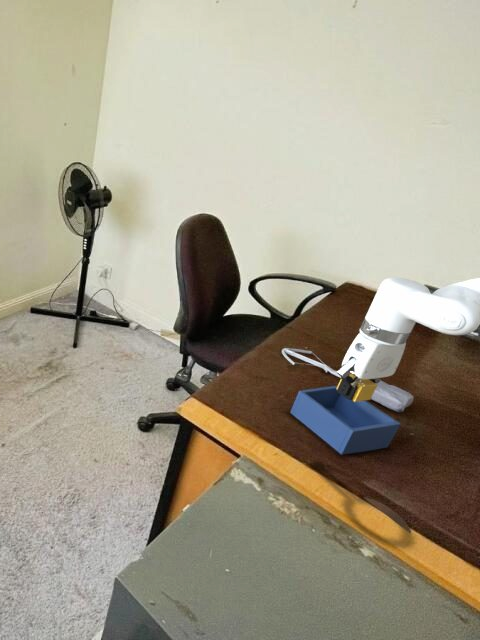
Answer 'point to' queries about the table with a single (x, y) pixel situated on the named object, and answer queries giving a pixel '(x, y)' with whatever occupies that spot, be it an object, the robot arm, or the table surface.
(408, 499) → the table surface
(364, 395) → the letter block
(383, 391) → the stone block
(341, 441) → the blue storage tray
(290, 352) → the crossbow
